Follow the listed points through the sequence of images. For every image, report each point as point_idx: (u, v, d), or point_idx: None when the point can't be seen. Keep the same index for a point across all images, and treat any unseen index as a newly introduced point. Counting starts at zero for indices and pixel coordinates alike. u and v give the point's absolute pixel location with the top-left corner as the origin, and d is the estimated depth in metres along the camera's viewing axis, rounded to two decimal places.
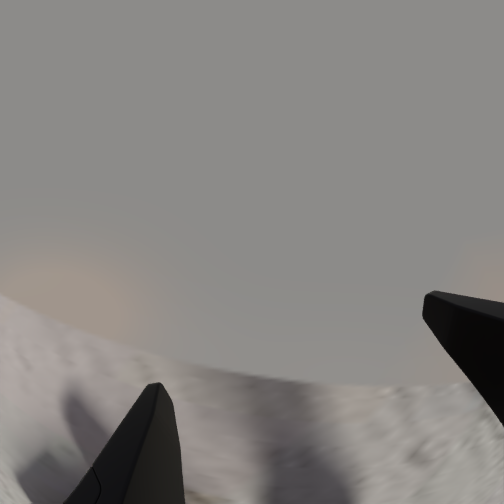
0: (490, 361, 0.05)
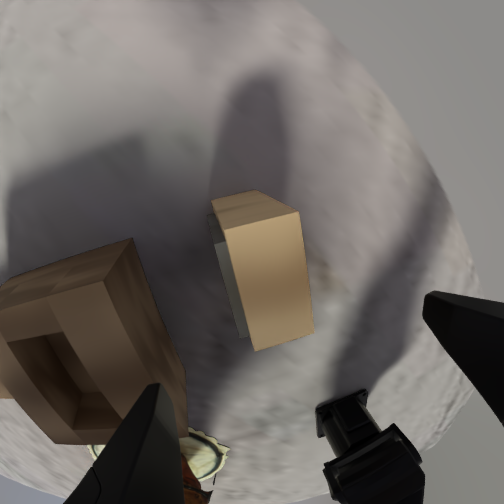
0: (490, 361, 0.05)
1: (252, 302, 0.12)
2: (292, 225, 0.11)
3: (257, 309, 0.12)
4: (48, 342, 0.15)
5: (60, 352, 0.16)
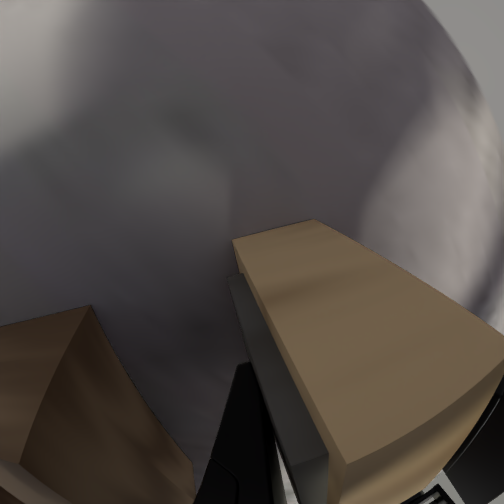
0: None
1: None
2: (494, 379, 0.03)
3: None
4: None
5: None
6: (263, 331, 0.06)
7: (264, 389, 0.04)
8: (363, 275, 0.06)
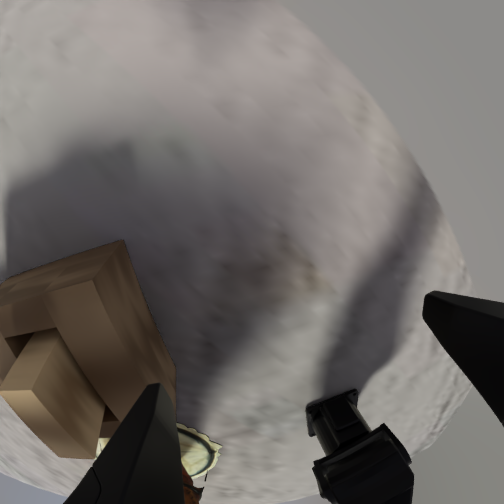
0: (490, 361, 0.05)
1: (37, 432, 0.09)
2: (32, 397, 0.09)
3: (43, 436, 0.10)
4: None
5: None
6: None
7: None
8: (42, 350, 0.12)
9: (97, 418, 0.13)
